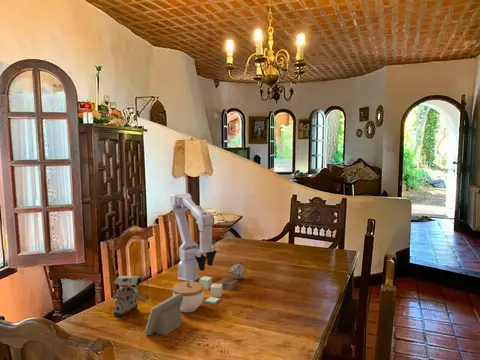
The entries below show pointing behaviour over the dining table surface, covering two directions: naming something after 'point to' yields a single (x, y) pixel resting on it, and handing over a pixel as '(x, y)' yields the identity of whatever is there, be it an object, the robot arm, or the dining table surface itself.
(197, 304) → the lidded bowl
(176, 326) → the digital clock
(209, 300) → the tile
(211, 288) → the cream cube
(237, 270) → the game die
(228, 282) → the walnut base
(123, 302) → the figurine
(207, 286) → the sage cube
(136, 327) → the dining table surface
